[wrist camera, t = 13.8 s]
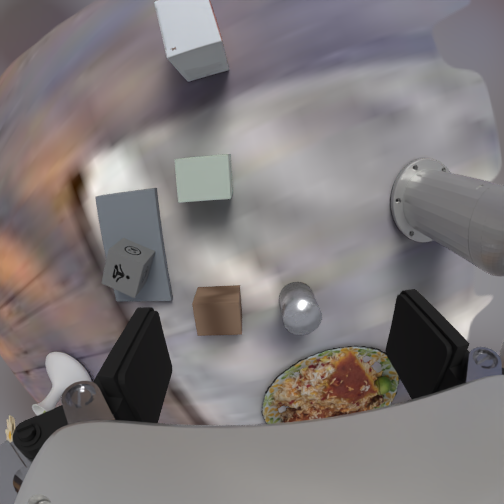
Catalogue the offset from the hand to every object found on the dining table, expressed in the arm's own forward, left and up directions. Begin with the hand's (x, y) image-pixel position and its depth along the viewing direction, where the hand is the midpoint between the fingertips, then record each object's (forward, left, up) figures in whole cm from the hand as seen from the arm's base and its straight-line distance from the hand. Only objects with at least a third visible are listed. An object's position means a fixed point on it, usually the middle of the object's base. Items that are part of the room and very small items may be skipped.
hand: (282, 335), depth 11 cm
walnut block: (+6, +14, -28) cm, 32 cm away
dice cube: (+17, +7, -28) cm, 33 cm away
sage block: (+6, -4, -28) cm, 29 cm away
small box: (+6, -21, -28) cm, 36 cm away
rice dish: (-13, +38, -29) cm, 49 cm away
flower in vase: (+40, +30, -28) cm, 58 cm away
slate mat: (+18, +5, -28) cm, 34 cm away
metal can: (-5, +14, -28) cm, 32 cm away
